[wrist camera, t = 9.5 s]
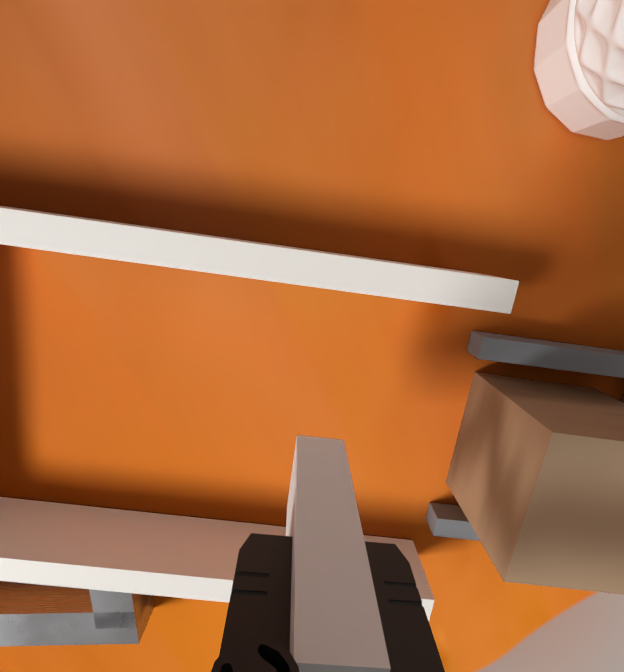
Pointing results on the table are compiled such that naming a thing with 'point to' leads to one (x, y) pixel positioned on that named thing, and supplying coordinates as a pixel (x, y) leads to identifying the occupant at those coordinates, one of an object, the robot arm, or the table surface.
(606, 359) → the grey bracket
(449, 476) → the walnut cube
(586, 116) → the white cup
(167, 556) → the cubby
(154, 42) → the table surface
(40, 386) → the table surface
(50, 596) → the crook tool
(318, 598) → the robot arm
